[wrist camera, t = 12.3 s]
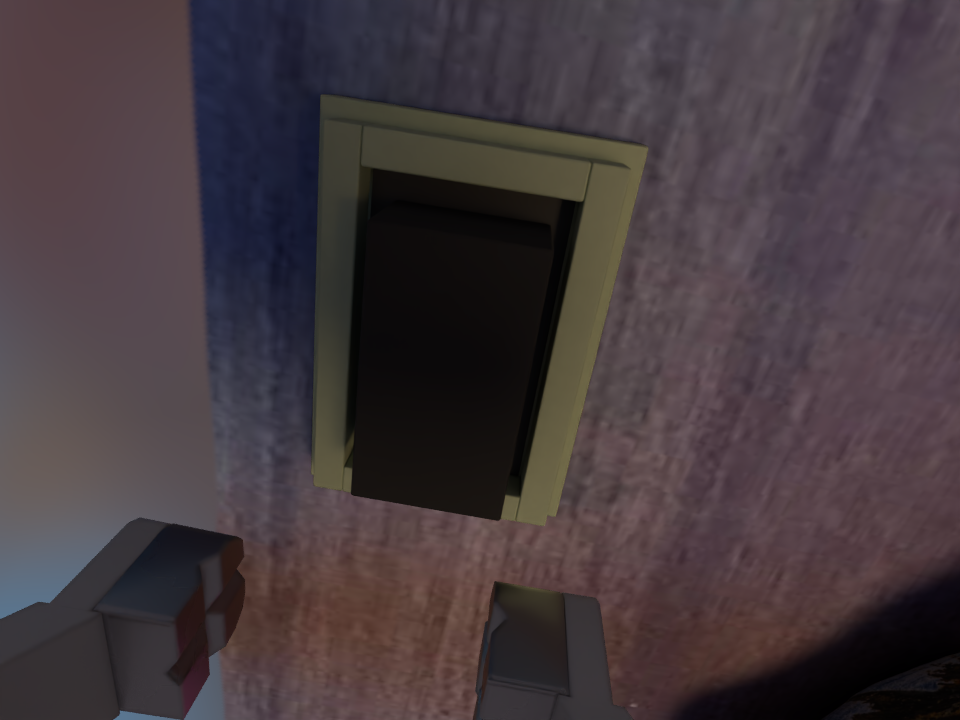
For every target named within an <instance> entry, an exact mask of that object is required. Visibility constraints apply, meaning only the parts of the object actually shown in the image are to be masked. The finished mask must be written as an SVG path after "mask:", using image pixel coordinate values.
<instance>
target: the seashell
mask: <svg viewBox="0 0 960 720" xmlns="http://www.w3.org/2000/svg"><path fill="white" fill-rule="evenodd" d="M821 720H960V653H957V654H953V655H948V656H945V657H942V658H940V659H937V660H935V661H932V662H929V663H926V664H923V665H921V666H918V667H915V668H913V669H911V670H908V671H906V672H903V673H900V674H897V675H895V676H892V677H890V678H887V679H885V680H882V681H880V682H877V683H875V684H872V685H871V686H869V687H867V688H865V689H863V690H862V691H860V692H858V693H856V694H855V695H853V696H852V697H850V698H849V699H848V700H847V701H846V702H845V703H844V704H842V705H841V706H840V707H838V708H837V709H836V710H834V711H833V712H831V713H830V714H828V715H827V716H826V717H824V718H823V719H821Z"/></svg>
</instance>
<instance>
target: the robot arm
mask: <svg viewBox="0 0 960 720" xmlns="http://www.w3.org/2000/svg"><path fill="white" fill-rule="evenodd" d="M243 558H244V549H243V540H242V539H241V538H239V537H237V536H232V535H227V534H222V533H217V532H212V531H207V530H203V529H198V528H193V527H188V526H183V525H178V524H170V523H164V522H160V521H155V520H150V519H145V518H138V519H136V520H133V521H131V522H129V523H128V524H127V525H126V526H125V527H124V528H123V529H122V530H121V531H120V532H119V533H118V534H117V535H116V536H115V537H114V538H113V539H112V540H111V541H110V542H109V543H108V544H107V545H106V546H105V547H104V548H103V549H102V550H101V551H100V552H99V553H98V554H97V555H96V556H95V557H94V558H93V559H92V560H91V561H90V562H89V563H88V564H87V566H86V567H85V568H84V569H83V570H82V571H81V572H80V573H79V574H78V575H77V576H76V577H75V578H74V579H73V580H72V581H71V582H70V583H69V584H68V585H67V586H66V587H65V588H64V589H63V590H62V591H61V592H60V593H59V594H58V595H57V597H55V598H54V600H52V601H51V602H50V603H43V602H37V603H35V604H33V605H30V606H28V607H26V608H24V609H22V610H19V611H17V612H15V613H13V614H11V615H9V616H6V617H4V618H2V619H0V720H113V719H115V718H116V717H117V716H119V714H120V711H119V710H121V711H128V712H134V713H141V714H147V715H153V716H160V717H167V718H174V719H180V720H184V718H185V716H186V714H187V713H188V711H189V709H190V708H191V706H192V704H193V702H194V701H195V699H196V697H197V696H198V694H199V692H200V690H201V689H202V686H203V685H204V683H205V682H206V680H207V678H208V676H209V675H210V672H209V657H210V656H211V655H213V654H214V653H216V652H217V651H219V650H221V649H222V648H224V647H225V646H226V645H227V643H228V641H229V639H230V637H231V636H232V634H233V632H234V630H235V628H236V625H237V623H238V620H239V617H240V614H241V611H242V608H243V603H244V597H245V579H244V578H243V577H242V575H241V574H240V573H239V572H238V570H237V567H238V566H239V564H240V563H241V561H242V560H243ZM475 691H476V693H477V695H478V696H477V701H476V706H475V711H474V716H473V720H633V718H632V717H631V715H630V714H629V713H628V711H627V710H626V709H625V707H621V706H617V705H613V699H612V692H611V684H610V677H609V669H608V662H607V655H606V647H605V640H604V632H603V625H602V617H601V610H600V604H599V602H598V600H597V599H596V598H593V597H587V596H581V595H575V594H569V593H562V594H561V593H560V592H556V591H550V590H544V589H538V588H532V587H526V586H520V585H514V584H508V583H502V582H496V581H495V582H494V585H493V589H492V593H491V598H490V605H489V615H488V621H487V622H485V627H484V633H483V638H482V644H481V650H480V656H479V663H478V672H477V680H476V690H475Z"/></svg>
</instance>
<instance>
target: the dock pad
mask: <svg viewBox="0 0 960 720" xmlns="http://www.w3.org/2000/svg"><path fill="white" fill-rule="evenodd" d="M647 153H648V147H647V146H645V145H642V144H638V143H632V142H625V141H619V140H613V139H607V138H600V137H594V136H588V135H582V134H576V133H569V132H563V131H557V130H551V129H544V128H538V127H532V126H526V125H519V124H513V123H507V122H501V121H494V120H488V119H482V118H476V117H469V116H463V115H457V114H451V113H445V112H438V111H432V110H426V109H420V108H413V107H407V106H401V105H395V104H388V103H382V102H376V101H370V100H363V99H357V98H351V97H345V96H338V95H327V94H322V95H321V96H320V135H319V175H318V215H317V255H316V295H315V336H314V376H313V416H312V456H311V474H312V475H314V483H313V484H314V486H317V487H322V488H328V489H334V490H340V491H341V490H343V491H345V492H350V493H351V481H352V465H353V448H354V432H355V415H356V399H357V382H358V366H359V349H360V333H361V316H362V300H363V283H364V267H365V250H366V234H367V222H368V220H369V219H370V218H372V217H373V216H374V215H376V214H377V213H379V212H380V211H381V210H383V209H384V208H386V207H387V206H388V205H390V204H391V203H393V202H394V201H396V200H401V201H407V202H413V203H419V204H425V205H431V206H438V207H444V208H450V209H456V210H462V211H468V212H474V213H481V214H487V215H493V216H499V217H505V218H511V219H517V220H523V221H530V222H536V223H542V224H548V225H550V226H551V231H552V239H553V247H554V257H553V262H552V267H551V272H550V276H549V281H548V286H547V291H546V296H545V301H544V306H543V311H542V316H541V321H540V326H539V331H538V336H537V341H536V346H535V351H534V356H533V361H532V366H531V371H530V376H529V381H528V386H527V391H526V396H525V401H524V406H523V411H522V416H521V421H520V426H519V430H518V435H517V440H516V445H515V450H514V455H513V460H512V465H511V470H510V475H509V480H508V485H507V490H506V495H505V500H504V505H503V510H502V515H501V519H505V520H511V521H514V520H516V521H517V522H523V523H529V524H534V525H540V526H544V525H545V523H546V519H547V516H553V517H555V516H556V513H557V509H558V505H559V501H560V497H561V493H562V489H563V485H564V481H565V477H566V473H567V469H568V466H569V462H570V458H571V454H572V450H573V446H574V442H575V438H576V434H577V430H578V426H579V422H580V418H581V414H582V410H583V406H584V402H585V398H586V394H587V390H588V386H589V382H590V378H591V374H592V371H593V367H594V363H595V359H596V355H597V351H598V347H599V343H600V339H601V335H602V331H603V327H604V323H605V319H606V315H607V311H608V307H609V303H610V299H611V295H612V291H613V287H614V283H615V279H616V275H617V272H618V268H619V264H620V260H621V256H622V252H623V248H624V244H625V240H626V236H627V232H628V228H629V224H630V220H631V216H632V212H633V208H634V204H635V200H636V196H637V192H638V188H639V184H640V180H641V177H642V173H643V169H644V165H645V161H646V157H647Z"/></svg>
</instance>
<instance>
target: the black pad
mask: <svg viewBox="0 0 960 720" xmlns="http://www.w3.org/2000/svg"><path fill="white" fill-rule="evenodd" d="M553 257H554V247H553V239H552V231H551V226H550V225H548V224H542V223H536V222H530V221H523V220H517V219H511V218H505V217H499V216H493V215H487V214H481V213H474V212H468V211H462V210H456V209H450V208H444V207H438V206H431V205H425V204H419V203H413V202H407V201H401V200H396V201H394V202H393V203H391V204H390V205H388V206H387V207H386V208H384V209H383V210H381V211H380V212H379V213H377V214H376V215H374V216H373V217H372V218H370V219H369V220H368V222H367V234H366V250H365V267H364V283H363V300H362V316H361V333H360V349H359V366H358V382H357V399H356V415H355V432H354V448H353V465H352V481H351V495H353V496H359V497H365V498H370V499H376V500H382V501H388V502H393V503H399V504H405V505H411V506H416V507H422V508H428V509H434V510H439V511H445V512H451V513H457V514H462V515H468V516H474V517H480V518H485V519H491V520H497V521H498V520H500V519H501V515H502V510H503V505H504V500H505V495H506V490H507V485H508V480H509V475H510V470H511V465H512V460H513V455H514V450H515V445H516V440H517V435H518V430H519V426H520V421H521V416H522V411H523V406H524V401H525V396H526V391H527V386H528V381H529V376H530V371H531V366H532V361H533V356H534V351H535V346H536V341H537V336H538V331H539V326H540V321H541V316H542V311H543V306H544V301H545V296H546V291H547V286H548V281H549V276H550V272H551V267H552V262H553Z"/></svg>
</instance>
